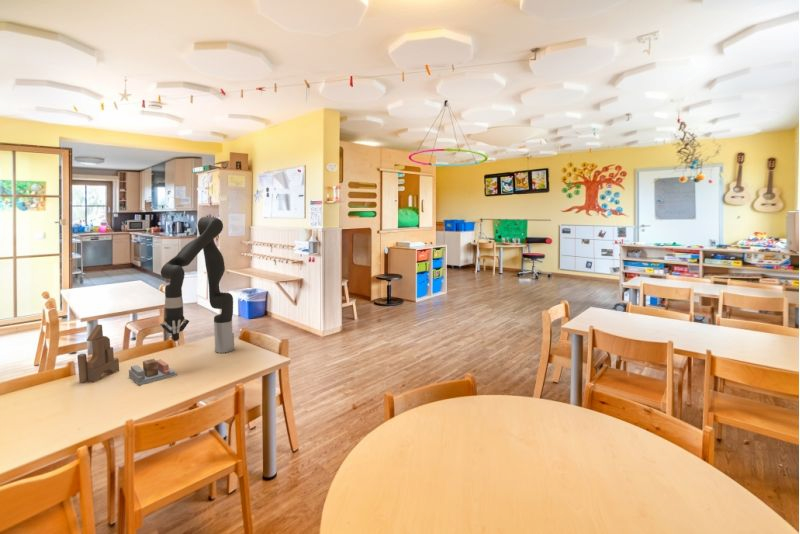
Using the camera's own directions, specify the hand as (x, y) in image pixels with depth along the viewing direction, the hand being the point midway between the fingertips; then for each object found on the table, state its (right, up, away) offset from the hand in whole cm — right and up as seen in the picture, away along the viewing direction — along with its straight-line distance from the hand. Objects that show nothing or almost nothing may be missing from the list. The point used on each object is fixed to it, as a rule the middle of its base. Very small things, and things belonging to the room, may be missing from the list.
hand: (175, 340), depth 193 cm
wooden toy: (-31, -16, -8) cm, 36 cm away
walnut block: (-8, -15, -7) cm, 18 cm away
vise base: (-7, -16, -6) cm, 18 cm away
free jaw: (-5, -14, -3) cm, 15 cm away
